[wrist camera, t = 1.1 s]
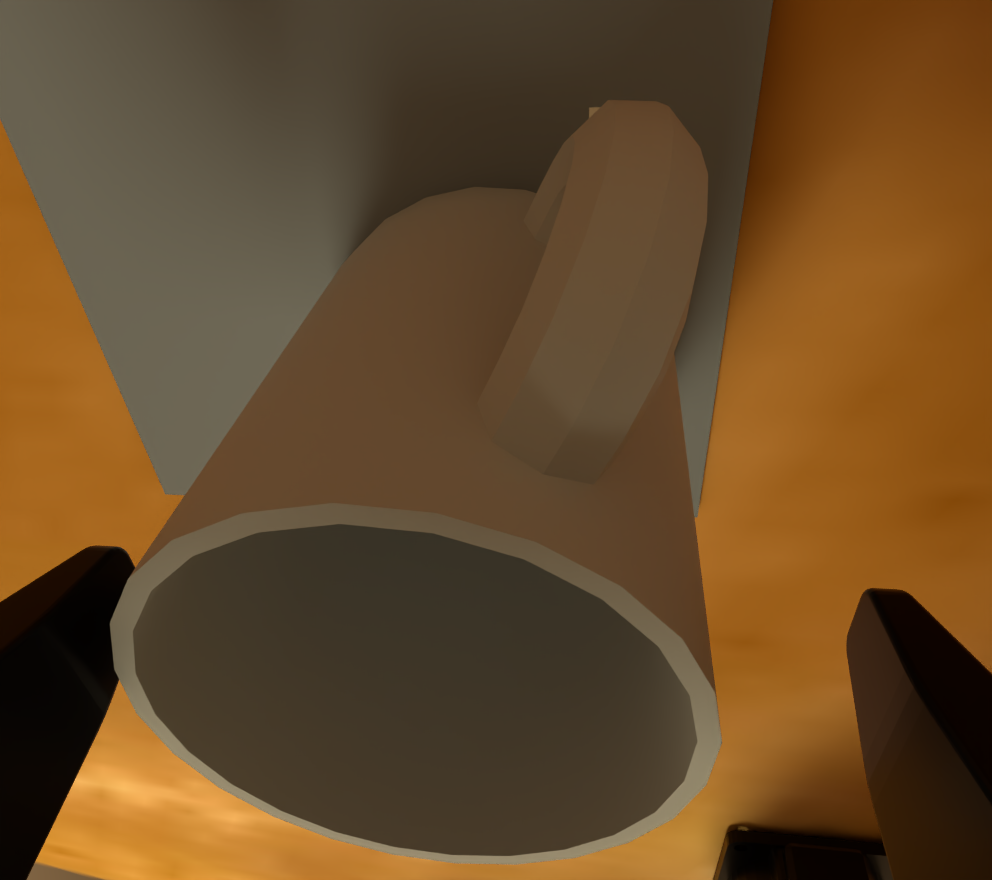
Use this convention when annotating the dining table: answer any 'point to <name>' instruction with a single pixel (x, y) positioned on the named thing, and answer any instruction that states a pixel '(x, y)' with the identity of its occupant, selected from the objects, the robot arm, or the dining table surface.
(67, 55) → the tile
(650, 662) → the cup
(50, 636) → the robot arm
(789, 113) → the dining table surface
